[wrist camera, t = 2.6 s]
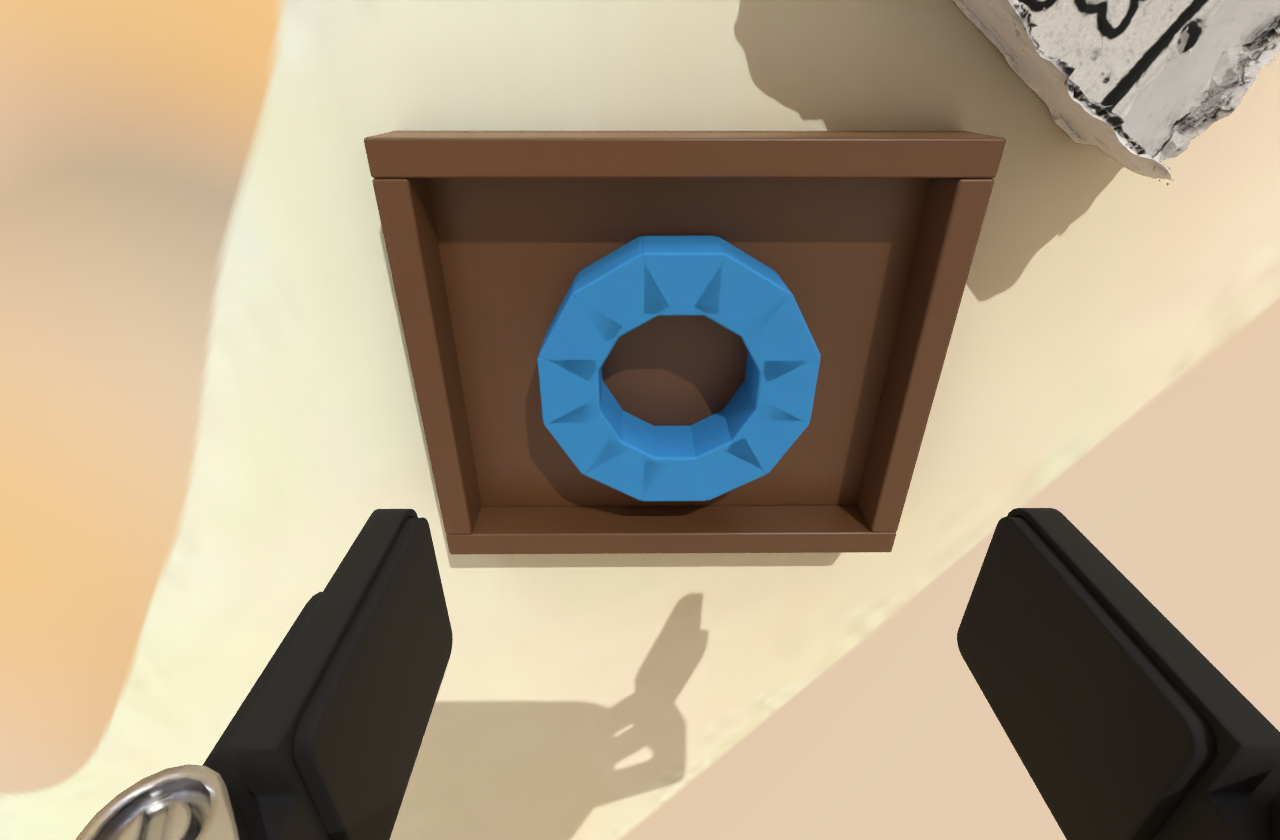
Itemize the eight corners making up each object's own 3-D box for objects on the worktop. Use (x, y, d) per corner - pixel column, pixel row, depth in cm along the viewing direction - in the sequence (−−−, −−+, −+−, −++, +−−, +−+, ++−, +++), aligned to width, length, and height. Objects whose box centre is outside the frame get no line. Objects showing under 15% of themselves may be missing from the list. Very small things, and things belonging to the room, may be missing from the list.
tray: (393, 130, 14) (362, 137, 13) (964, 130, 14) (1008, 138, 13) (464, 515, 20) (449, 555, 18) (870, 514, 20) (892, 553, 18)
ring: (538, 234, 15) (526, 252, 13) (818, 234, 15) (839, 252, 13) (557, 466, 18) (550, 503, 17) (784, 465, 18) (798, 502, 17)
